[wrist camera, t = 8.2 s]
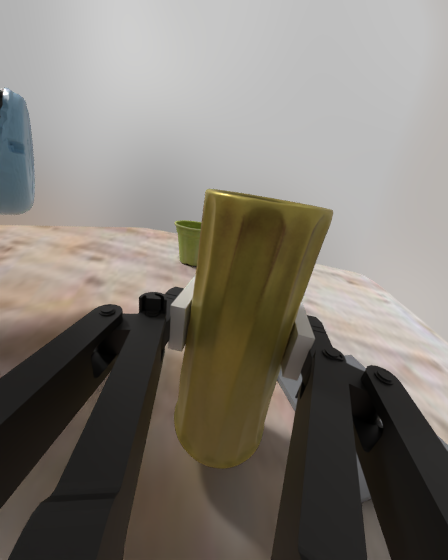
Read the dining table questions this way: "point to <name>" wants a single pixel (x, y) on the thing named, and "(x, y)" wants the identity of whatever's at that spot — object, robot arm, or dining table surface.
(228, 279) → the vase
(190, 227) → the plant pot
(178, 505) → the dining table surface
